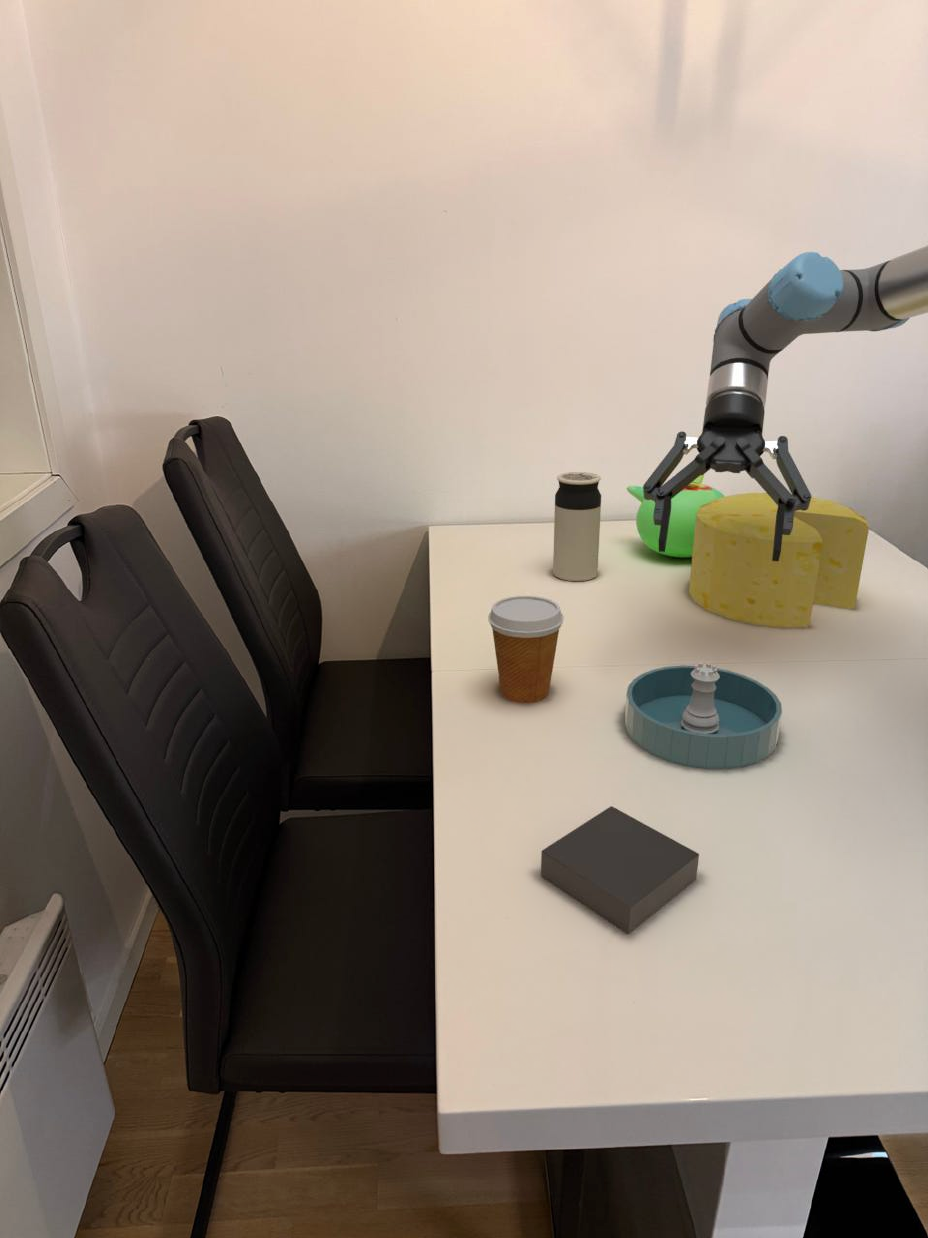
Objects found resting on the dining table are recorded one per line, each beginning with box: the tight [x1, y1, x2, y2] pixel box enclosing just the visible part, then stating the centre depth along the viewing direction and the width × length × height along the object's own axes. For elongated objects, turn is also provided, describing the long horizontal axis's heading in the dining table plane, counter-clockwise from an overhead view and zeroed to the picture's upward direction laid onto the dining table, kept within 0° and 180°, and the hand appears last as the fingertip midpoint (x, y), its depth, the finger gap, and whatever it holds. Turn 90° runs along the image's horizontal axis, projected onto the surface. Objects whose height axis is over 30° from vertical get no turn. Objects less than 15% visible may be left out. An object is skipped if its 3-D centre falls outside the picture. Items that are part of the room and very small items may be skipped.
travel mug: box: [552, 471, 602, 582], centre depth 148 cm, size 8×8×18 cm
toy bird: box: [626, 474, 726, 559], centre depth 158 cm, size 18×17×15 cm
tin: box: [624, 664, 783, 770], centre depth 100 cm, size 18×18×4 cm
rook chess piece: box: [681, 662, 720, 734], centre depth 99 cm, size 4×4×8 cm
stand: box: [540, 805, 700, 935], centre depth 76 cm, size 10×10×3 cm
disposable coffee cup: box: [487, 595, 565, 704], centre depth 108 cm, size 10×10×12 cm
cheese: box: [688, 492, 870, 628], centre depth 137 cm, size 26×26×15 cm
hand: (717, 551), depth 103 cm, fingers open, 13 cm apart
